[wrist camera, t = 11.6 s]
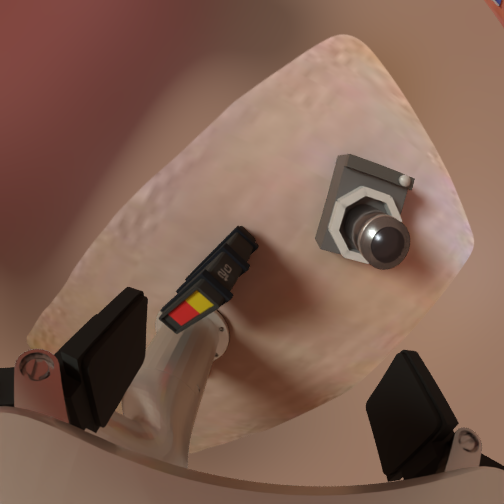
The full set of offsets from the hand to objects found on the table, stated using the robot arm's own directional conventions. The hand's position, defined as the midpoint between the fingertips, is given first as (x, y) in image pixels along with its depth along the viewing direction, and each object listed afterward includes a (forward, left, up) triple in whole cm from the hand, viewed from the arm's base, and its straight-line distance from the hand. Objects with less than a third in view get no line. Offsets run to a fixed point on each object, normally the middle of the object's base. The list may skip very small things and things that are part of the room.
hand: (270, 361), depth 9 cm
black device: (-9, +6, -31) cm, 32 cm away
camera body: (+4, -11, -30) cm, 32 cm away
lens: (+2, -11, -25) cm, 28 cm away
